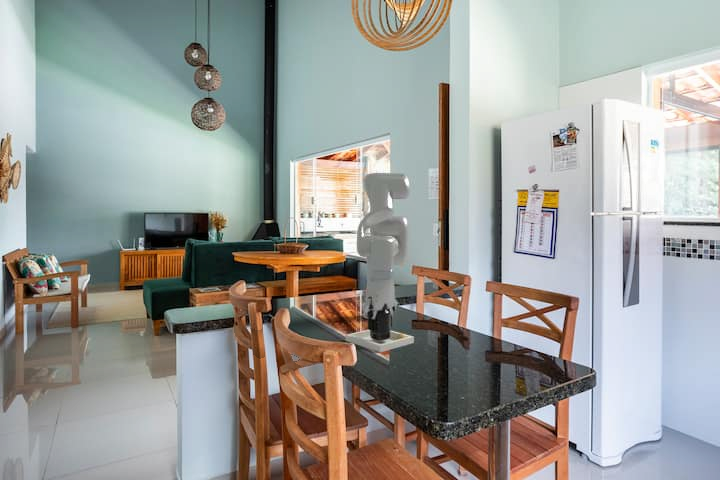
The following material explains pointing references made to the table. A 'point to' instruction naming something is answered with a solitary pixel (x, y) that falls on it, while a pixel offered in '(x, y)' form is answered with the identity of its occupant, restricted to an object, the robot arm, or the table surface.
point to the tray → (379, 341)
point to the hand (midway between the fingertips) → (380, 328)
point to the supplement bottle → (382, 324)
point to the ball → (400, 336)
